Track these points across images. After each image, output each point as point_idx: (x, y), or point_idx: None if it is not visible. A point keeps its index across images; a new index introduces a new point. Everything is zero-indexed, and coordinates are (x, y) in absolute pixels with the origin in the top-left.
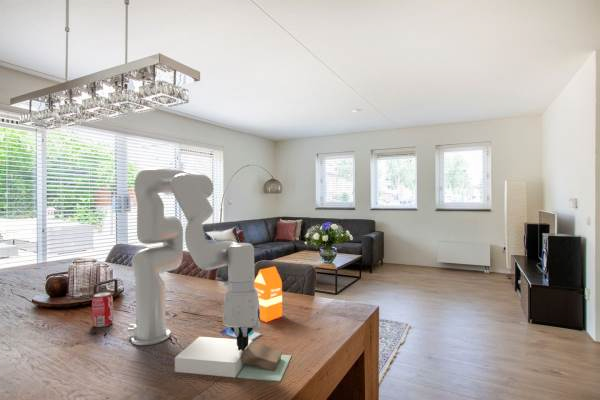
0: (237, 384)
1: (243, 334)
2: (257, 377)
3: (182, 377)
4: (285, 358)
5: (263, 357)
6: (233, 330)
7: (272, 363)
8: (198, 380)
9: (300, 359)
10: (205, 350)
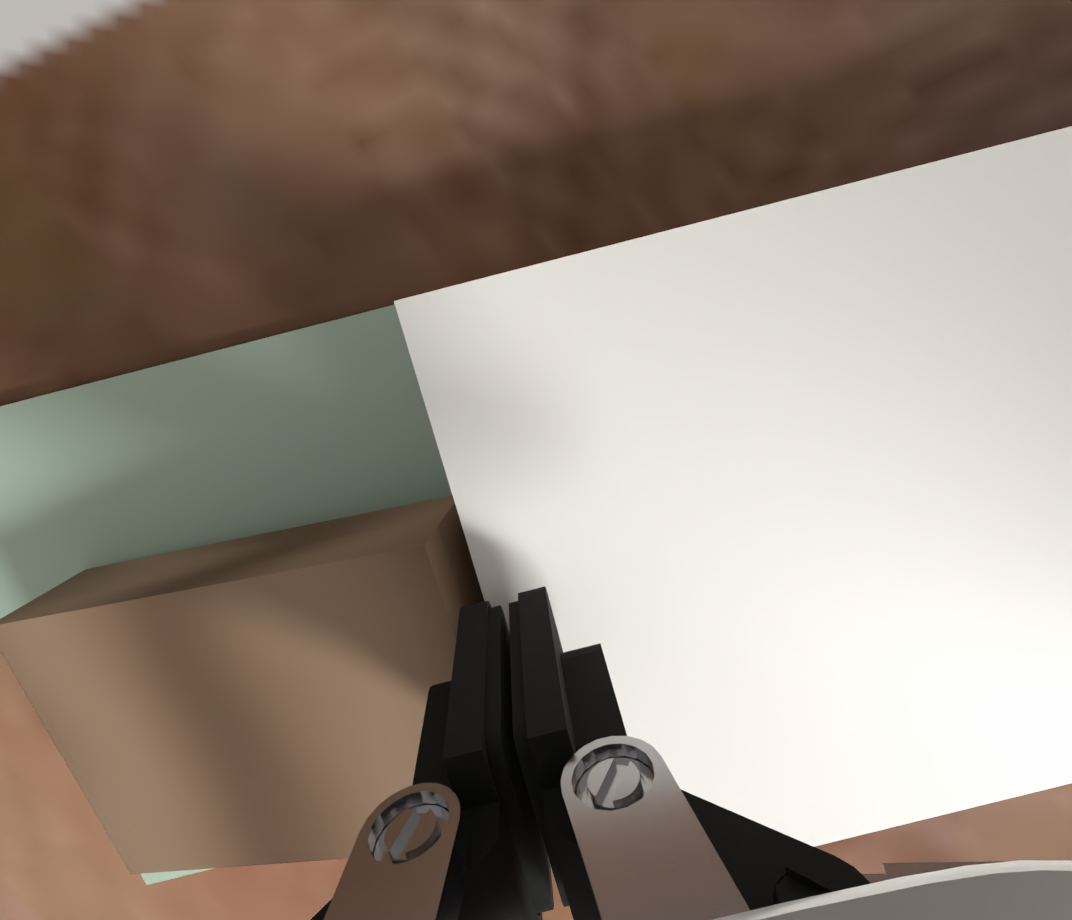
0: (304, 183)
1: (450, 831)
2: (171, 385)
3: (1020, 32)
4: None
5: (161, 628)
6: (759, 851)
7: (50, 605)
8: (793, 58)
9: (30, 862)
10: (1053, 430)
